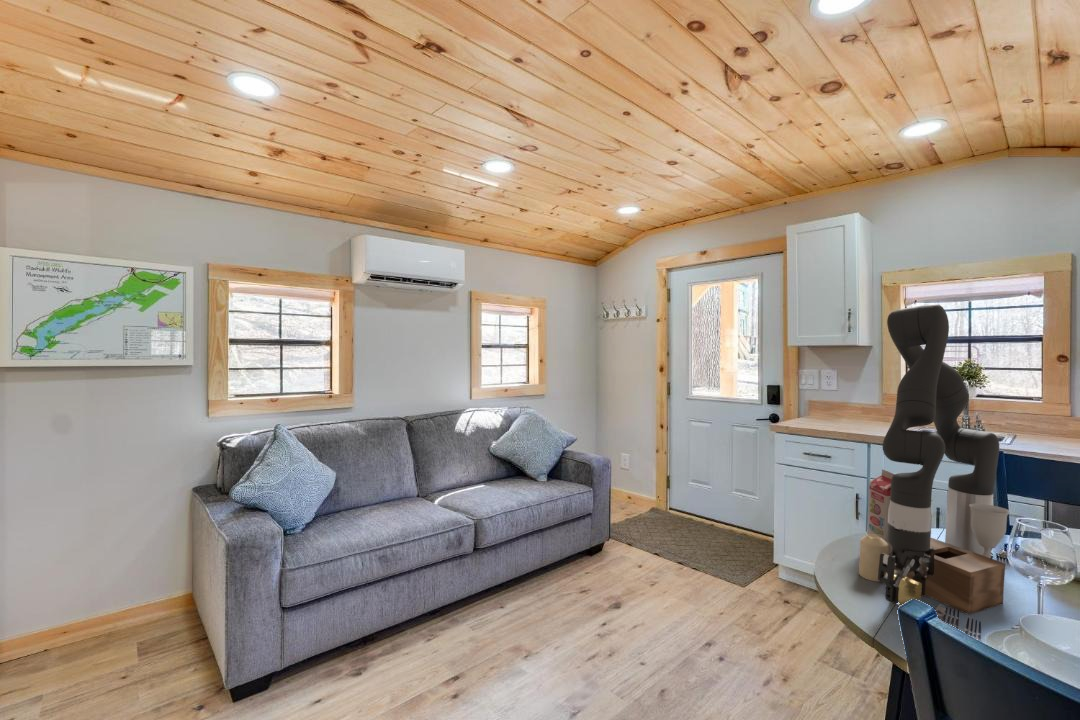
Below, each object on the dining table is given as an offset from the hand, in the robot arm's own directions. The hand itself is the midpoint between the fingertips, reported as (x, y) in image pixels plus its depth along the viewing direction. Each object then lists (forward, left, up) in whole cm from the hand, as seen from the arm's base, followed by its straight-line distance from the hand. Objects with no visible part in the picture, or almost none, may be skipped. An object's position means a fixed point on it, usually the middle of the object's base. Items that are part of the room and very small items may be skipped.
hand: (905, 598), depth 111 cm
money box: (-15, -1, -2) cm, 15 cm away
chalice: (-28, 0, -2) cm, 28 cm away
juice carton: (-22, -19, -2) cm, 29 cm away
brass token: (0, 0, -2) cm, 2 cm away
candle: (-7, -12, -2) cm, 14 cm away
